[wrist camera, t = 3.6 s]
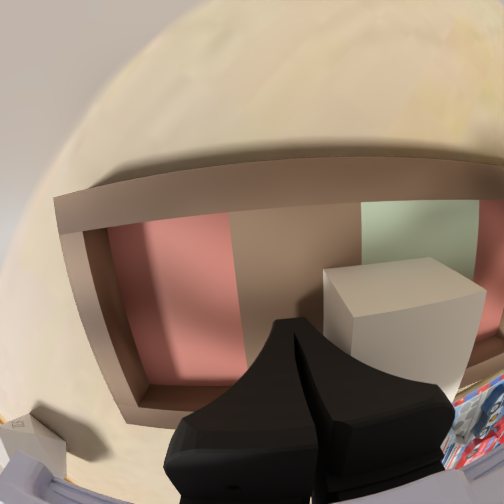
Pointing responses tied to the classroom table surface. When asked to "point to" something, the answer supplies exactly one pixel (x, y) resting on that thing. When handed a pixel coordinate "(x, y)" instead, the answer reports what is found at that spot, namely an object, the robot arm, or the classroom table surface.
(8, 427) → the die
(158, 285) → the tray
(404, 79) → the classroom table surface
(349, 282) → the block
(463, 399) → the puzzle board
